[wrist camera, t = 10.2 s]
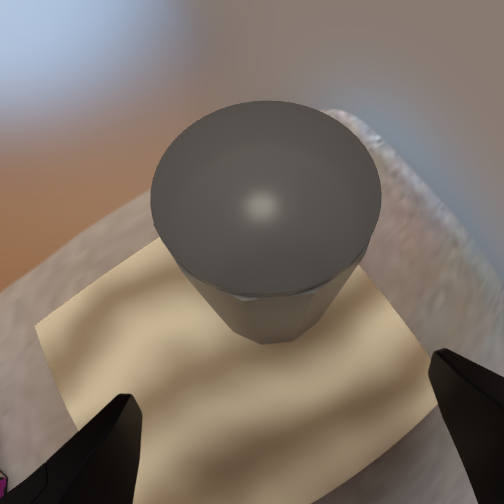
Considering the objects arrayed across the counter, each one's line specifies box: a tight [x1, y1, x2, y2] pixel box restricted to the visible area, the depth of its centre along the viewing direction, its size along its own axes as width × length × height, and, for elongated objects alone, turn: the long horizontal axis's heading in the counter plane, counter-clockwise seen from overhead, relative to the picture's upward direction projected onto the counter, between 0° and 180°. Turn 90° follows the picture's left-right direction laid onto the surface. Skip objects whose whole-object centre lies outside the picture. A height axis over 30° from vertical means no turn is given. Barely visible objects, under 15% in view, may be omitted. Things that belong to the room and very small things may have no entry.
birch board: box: [35, 237, 438, 504], centre depth 20 cm, size 22×24×1 cm
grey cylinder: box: [151, 101, 381, 345], centre depth 15 cm, size 7×7×12 cm
